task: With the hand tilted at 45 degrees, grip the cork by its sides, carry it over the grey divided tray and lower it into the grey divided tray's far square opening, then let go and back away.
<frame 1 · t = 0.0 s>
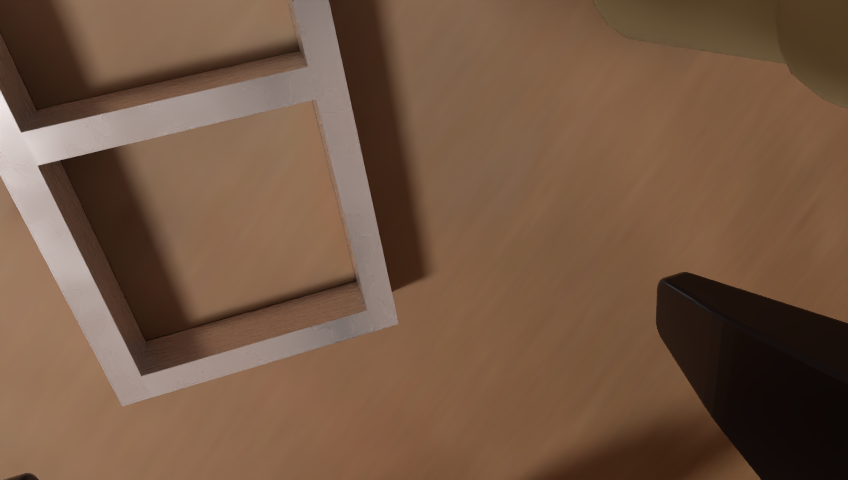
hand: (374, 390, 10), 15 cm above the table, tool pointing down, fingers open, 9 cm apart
grey divided tray: (177, 94, 21), on the table
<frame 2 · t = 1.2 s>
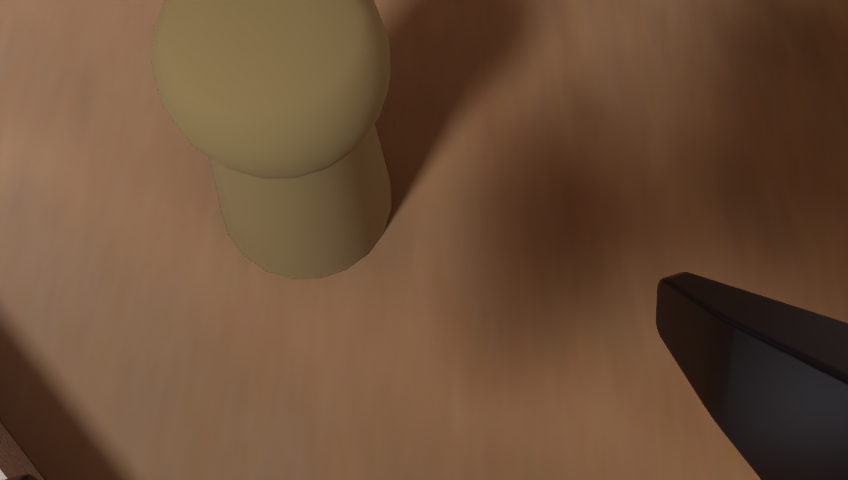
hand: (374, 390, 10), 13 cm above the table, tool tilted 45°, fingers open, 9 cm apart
cork: (307, 198, 24), on the table
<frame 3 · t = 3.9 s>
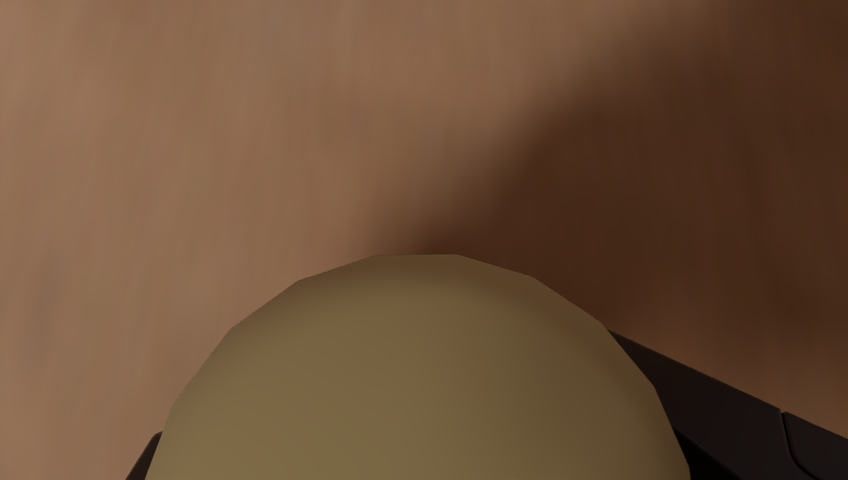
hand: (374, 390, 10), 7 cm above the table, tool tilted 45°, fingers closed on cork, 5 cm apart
cork: (386, 463, 16), on the table, touching gripper
when the fingers open (8 cm above the table, at t = 7.8 s): cork drops 1 cm, resting in grey divided tray.
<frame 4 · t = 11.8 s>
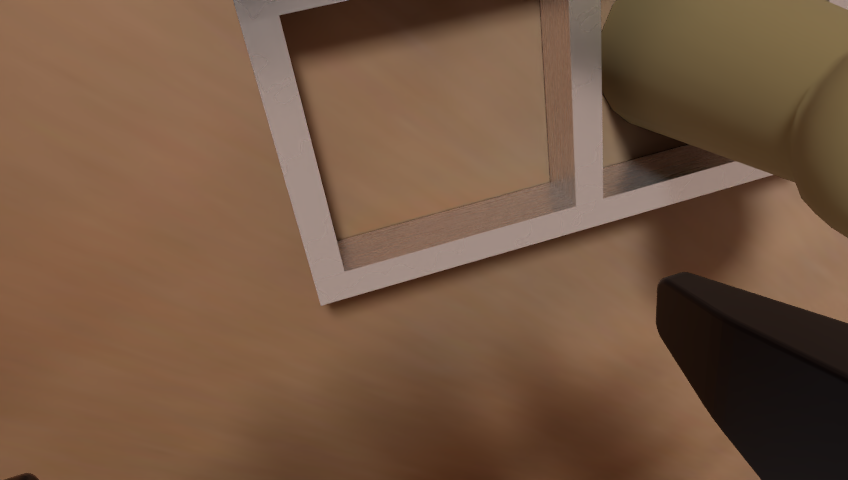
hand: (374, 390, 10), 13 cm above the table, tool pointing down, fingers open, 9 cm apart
cork: (673, 42, 23), resting in grey divided tray
grey divided tray: (558, 71, 22), on the table
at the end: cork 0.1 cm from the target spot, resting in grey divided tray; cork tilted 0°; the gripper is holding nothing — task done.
